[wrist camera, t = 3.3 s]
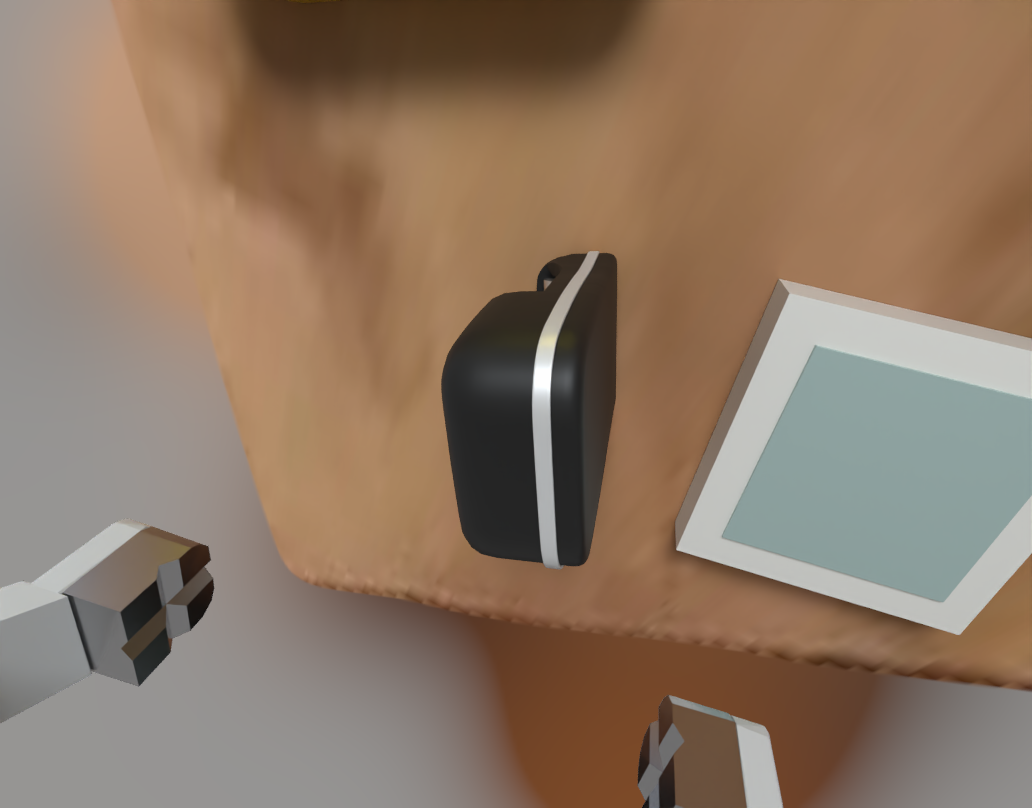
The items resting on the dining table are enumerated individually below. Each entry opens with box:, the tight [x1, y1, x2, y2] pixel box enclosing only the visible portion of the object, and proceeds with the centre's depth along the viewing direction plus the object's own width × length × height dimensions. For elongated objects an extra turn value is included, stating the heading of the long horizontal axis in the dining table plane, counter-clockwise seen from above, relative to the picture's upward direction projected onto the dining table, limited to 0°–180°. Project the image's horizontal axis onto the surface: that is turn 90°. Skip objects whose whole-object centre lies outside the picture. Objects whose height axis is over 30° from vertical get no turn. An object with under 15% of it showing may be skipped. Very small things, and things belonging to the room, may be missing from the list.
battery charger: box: [441, 251, 617, 569], centre depth 18 cm, size 7×4×11 cm, turn 4°
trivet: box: [675, 279, 1032, 635], centre depth 22 cm, size 12×12×2 cm
